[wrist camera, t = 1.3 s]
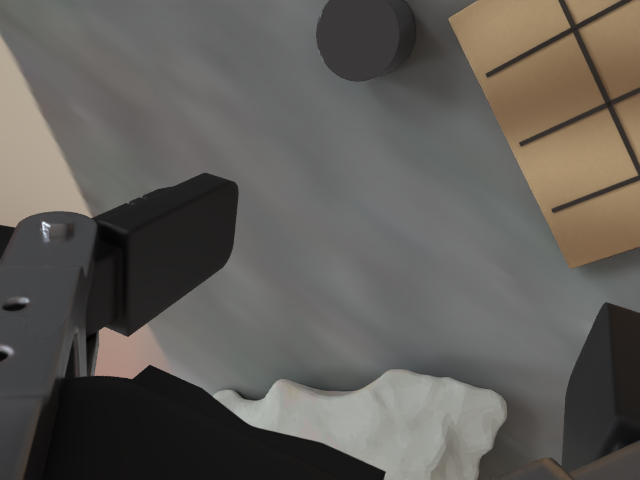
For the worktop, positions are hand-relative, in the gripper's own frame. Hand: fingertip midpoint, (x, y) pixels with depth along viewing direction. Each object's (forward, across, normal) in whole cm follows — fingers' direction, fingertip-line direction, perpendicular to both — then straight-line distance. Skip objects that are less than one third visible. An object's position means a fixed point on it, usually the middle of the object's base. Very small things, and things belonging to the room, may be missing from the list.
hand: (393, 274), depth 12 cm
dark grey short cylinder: (+22, +8, -2) cm, 24 cm away
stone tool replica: (+22, +4, +26) cm, 34 cm away
